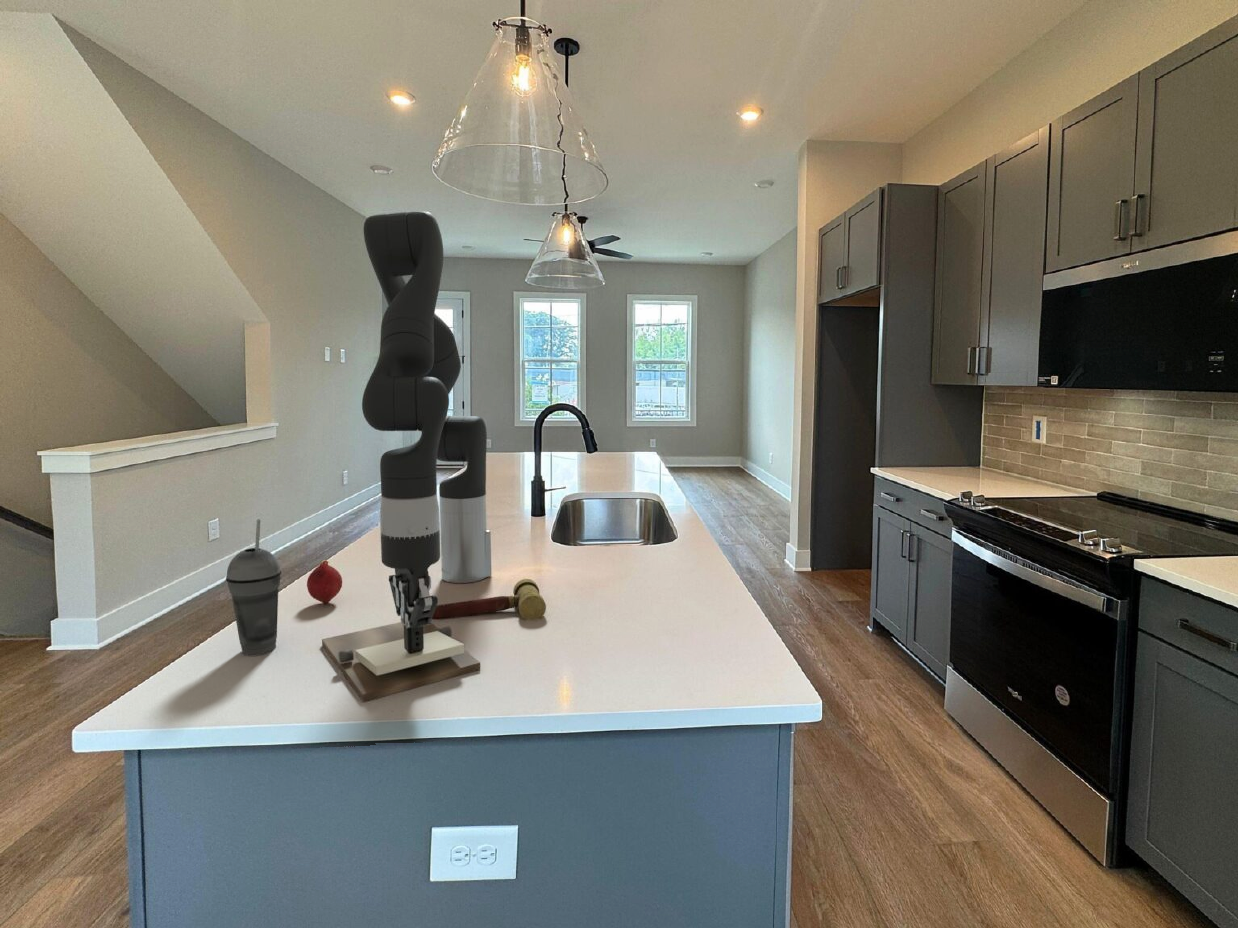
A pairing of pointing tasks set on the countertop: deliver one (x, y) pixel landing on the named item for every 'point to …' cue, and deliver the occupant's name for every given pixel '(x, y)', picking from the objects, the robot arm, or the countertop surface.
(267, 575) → the beverage cup
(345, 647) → the walnut board
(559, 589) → the countertop surface
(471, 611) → the gavel
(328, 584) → the onion
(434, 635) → the tile
